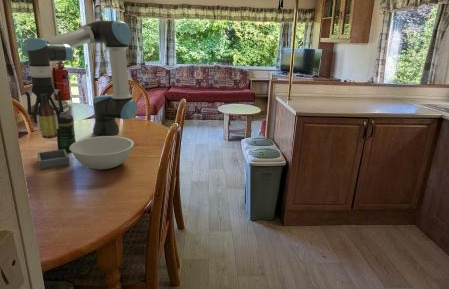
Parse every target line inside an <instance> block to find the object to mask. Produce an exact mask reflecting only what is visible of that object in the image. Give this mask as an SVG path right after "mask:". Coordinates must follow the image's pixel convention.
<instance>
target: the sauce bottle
mask: <svg viewBox="0 0 449 289" xmlns="http://www.w3.org/2000/svg"><path fill="white" fill-rule="evenodd" d="M39 97H40V102H39V106H38V111H37V115H38V116H39V122H40V129H41V131H40V133H41V138H43V139H47V140H48V139H49V140H50V139H54V138H57V129H56V121H55V115H54V114H55V110H54V108H53V106H52V104H51V102H50V100H49V98H48V95H47V94H40V95H39Z"/></svg>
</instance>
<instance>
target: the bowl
mask: <svg viewBox="0 0 449 289" xmlns="http://www.w3.org/2000/svg"><path fill="white" fill-rule="evenodd" d="M134 144H135V142H134V141H133V140H132V139H130V138H128V137H124V136H116V135H110V136H92V137H88V138H87V137H86V138H83V139H80V140H77V141H76V142H75V143H73V144H72V145H71V146H70V147H69V149H70V151H72V155H73V157H74V158H75V160H77V161H78V162H79V163H80V164H81V165H83V166H84V167H86V168H88V169H92V170H109V169H113V168H115V167H119V166H120V165H122V164H123V163H124V162H125V161H126V160H127V159H128V157H129V156H130V155H131V151H132V148H133V146H134Z"/></svg>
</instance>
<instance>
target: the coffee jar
mask: <svg viewBox="0 0 449 289" xmlns="http://www.w3.org/2000/svg"><path fill="white" fill-rule="evenodd" d="M74 121H75V120H74V116H73V115H72V114H70V113H61V114H60V121H58V129H57V137H56V141H57V143H56V144H57V150H62V149H65V151H66V153H70V152H72V151H70V149H69V147H70V146H71V145H72V144H73V143H75V142H77V141H76V134H75V132H76V131H75V122H74Z"/></svg>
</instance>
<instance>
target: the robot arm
mask: <svg viewBox="0 0 449 289" xmlns="http://www.w3.org/2000/svg"><path fill="white" fill-rule="evenodd" d="M132 38H133V35H132V30H131V28H130V26H129V25H128V24H127V23H126V22H124V21H122V20H97V21H93V22H90V23H87V24H83V25H81V26H80V27H79V28H78V29H74V30H70V31H68V32H67V31H66V32H65V33H61V34H58V35H54V36H51V37H47V38H44V37H43V38H42V37H40V38H39V37H38V38H37V37H27V39H26V40H25V43H24V44H23V47H22V53H23V55H24V56H25V57H26V58H28V64H29V72H30V76H31V78H30V79H31V89H30V90H25V91H24V94H25V96H26V102H27V114H28V115H29V116H30V115H31V116H33V122H34V124H37V128H38V131H40V132H41V128H40V122H39V116H38V110H39V105H40V103H39V102H40V97H39V95H40V94H47V95H48V98H49V102H50V105H51V106H52V107H53V110H54V115H55V121H56V129H58V121H60V115H61V114H64V112H65V111H64V107H63V101H62V97H61V96H62V95H61V94H62V90H60V89H55V88H54V86H53V79H52V77H51V76H52V71H51V64H50V62H66V61H67V62H68V61H70V60H72V59H73V57H74V50H73V48H76V47H79V46H83V45H86V44H87V45H91V44H94V43H96V44H97V43H98V44H99V43H102V44H105V48H106V49H107V50H108V51H109V53H108V54H109V60H110V61H109V63H110V70H111V81H112V91H113V93H112V94H103V95H102V94H101V95H97V96H94V97H93V102H92V104H93V112H94V119H95V120H94V124H93V128H92V132H93V133H92V134H94V135H95V136H97V137H100V136H116V135H117V134H119V133H120V128H119V125H118V122H117V121H116V119H119V120H127V121H128V120H132V119H133V118H134V117H135V116H136V114H137V112H138V104H137V102H136V101H135V100H133V95H132V94H131V93H130V86H129V77H128V65H127V49H128V48H129V44H131V42H132ZM53 93H55V95H56V98H57V102H58V106H59V107H57V105H56V103H55V101H54V99H53V97H52V96H53ZM32 94H34V95H35V96H36V99H35V102H34V103H35V104H34V108H33V111H32V101H31V97H32ZM58 108H59V109H58Z"/></svg>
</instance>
